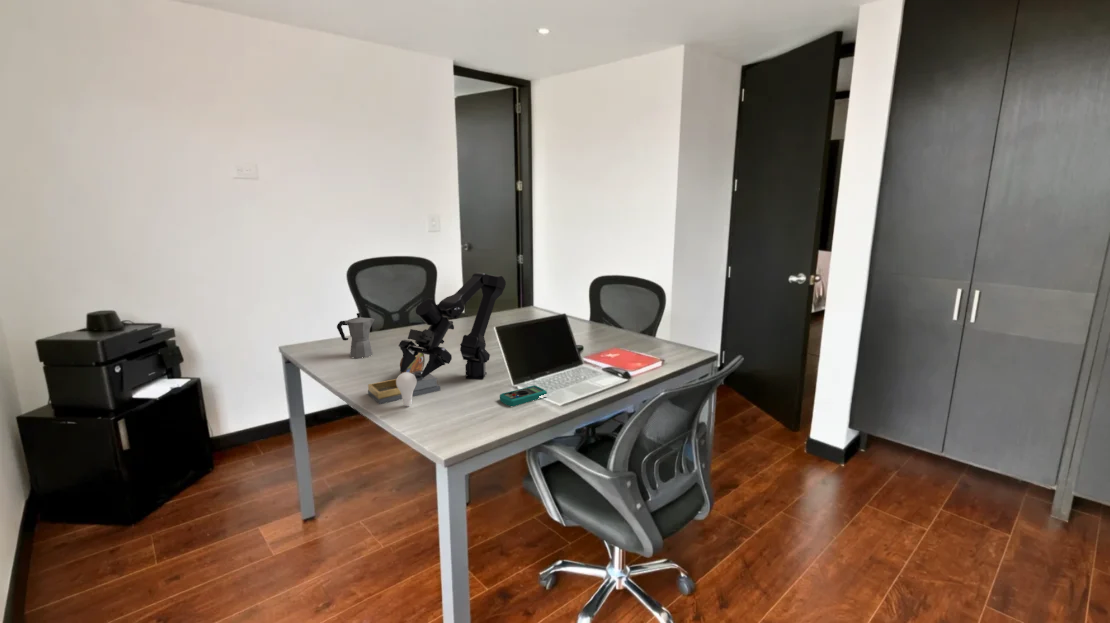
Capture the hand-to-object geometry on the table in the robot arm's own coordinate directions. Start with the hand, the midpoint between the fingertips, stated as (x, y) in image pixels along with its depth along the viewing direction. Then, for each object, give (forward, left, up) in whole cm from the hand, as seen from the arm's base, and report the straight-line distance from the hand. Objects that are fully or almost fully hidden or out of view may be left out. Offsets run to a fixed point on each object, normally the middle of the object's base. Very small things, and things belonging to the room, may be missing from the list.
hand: (411, 374), depth 159 cm
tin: (+10, -28, -10) cm, 31 cm away
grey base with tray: (+6, -10, -10) cm, 15 cm away
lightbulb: (+1, +2, -10) cm, 10 cm away
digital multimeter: (-34, -8, -11) cm, 37 cm away
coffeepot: (+40, -48, -10) cm, 63 cm away
